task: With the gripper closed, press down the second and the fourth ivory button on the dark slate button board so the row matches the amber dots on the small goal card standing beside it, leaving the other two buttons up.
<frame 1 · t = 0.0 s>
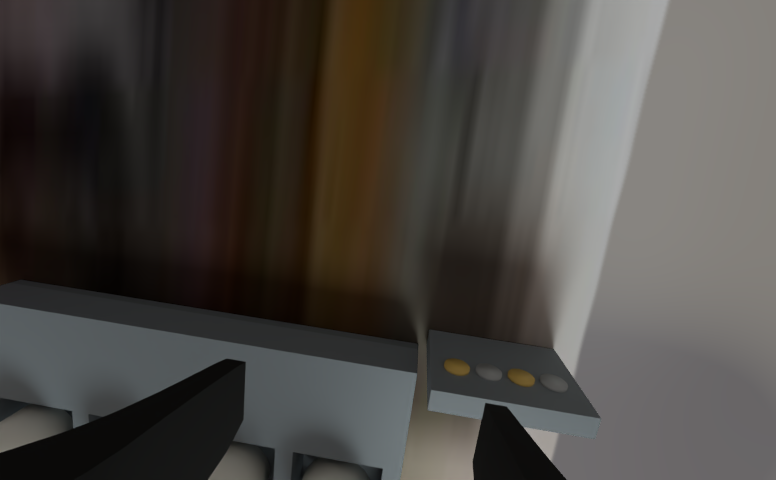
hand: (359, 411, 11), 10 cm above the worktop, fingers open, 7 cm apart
goal card: (489, 347, 21), on the worktop
board: (210, 423, 24), on the worktop
button 4: (19, 451, 21), point 4 cm above the worktop, slide at 0.0 cm
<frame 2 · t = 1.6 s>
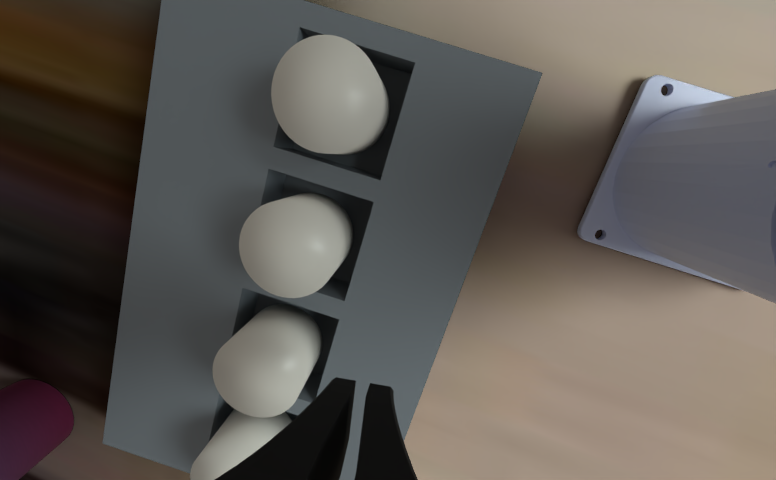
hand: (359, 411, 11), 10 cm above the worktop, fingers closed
cup: (42, 409, 25), on the worktop
button 1: (336, 103, 15), point 4 cm above the worktop, slide at 0.0 cm
board: (303, 272, 21), on the worktop
button 3: (272, 356, 17), point 4 cm above the worktop, slide at 0.0 cm
button 4: (247, 455, 19), point 4 cm above the worktop, slide at 0.0 cm
button 2: (301, 241, 16), point 4 cm above the worktop, slide at 0.0 cm
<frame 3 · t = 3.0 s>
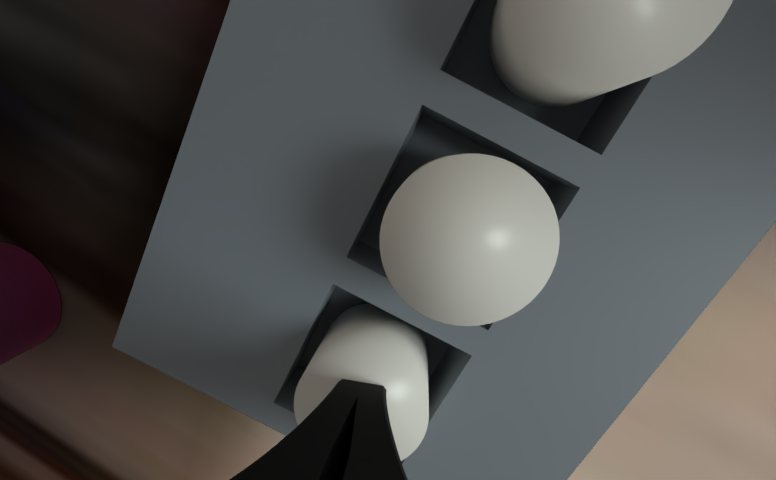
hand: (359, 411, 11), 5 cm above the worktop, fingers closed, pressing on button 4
cup: (15, 293, 17), on the worktop
board: (479, 129, 13), on the worktop
button 3: (460, 230, 10), point 4 cm above the worktop, slide at 0.0 cm
button 4: (368, 378, 12), point 3 cm above the worktop, slide at -1.0 cm, touching gripper
button 2: (588, 5, 8), point 4 cm above the worktop, slide at 0.0 cm
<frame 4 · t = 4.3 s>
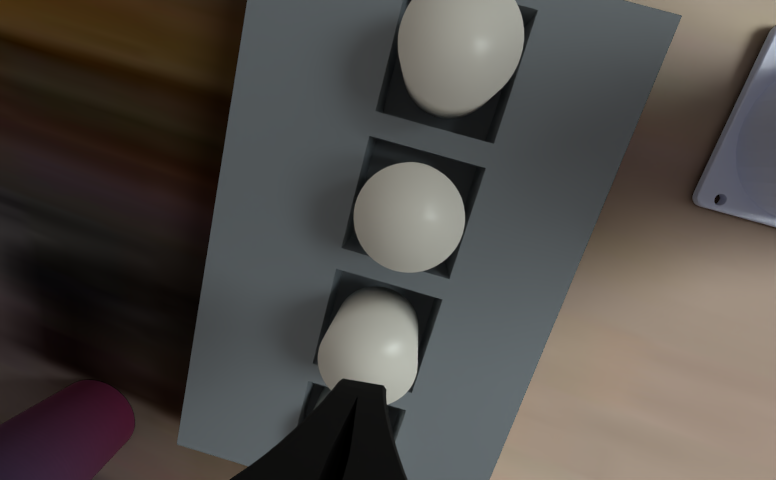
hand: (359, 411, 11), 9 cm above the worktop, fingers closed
cup: (100, 412, 23), on the worktop
button 1: (455, 56, 13), point 4 cm above the worktop, slide at 0.0 cm
board: (387, 253, 19), on the worktop
button 3: (372, 342, 16), point 4 cm above the worktop, slide at 0.0 cm
button 4: (347, 428, 19), point 2 cm above the worktop, slide at -1.5 cm
button 2: (409, 212, 15), point 4 cm above the worktop, slide at 0.0 cm
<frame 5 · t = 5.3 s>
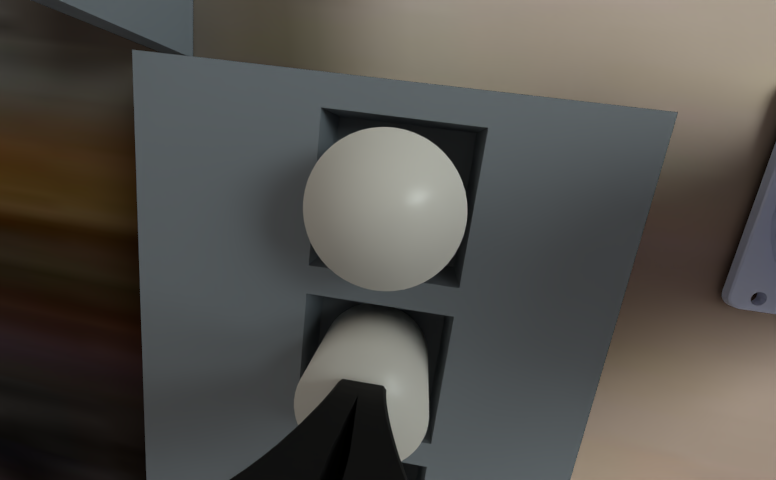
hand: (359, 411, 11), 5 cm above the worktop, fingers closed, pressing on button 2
button 1: (389, 204, 10), point 4 cm above the worktop, slide at 0.0 cm
board: (361, 390, 16), on the worktop
button 2: (368, 378, 12), point 3 cm above the worktop, slide at -0.5 cm, touching gripper
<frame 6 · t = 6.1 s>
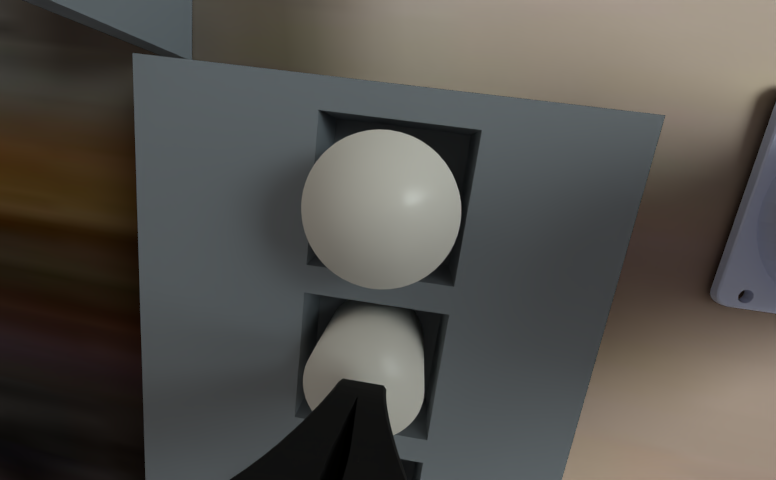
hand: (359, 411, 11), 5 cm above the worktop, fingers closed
button 1: (386, 204, 11), point 4 cm above the worktop, slide at 0.0 cm
board: (358, 388, 17), on the worktop
button 2: (369, 359, 13), point 2 cm above the worktop, slide at -1.5 cm
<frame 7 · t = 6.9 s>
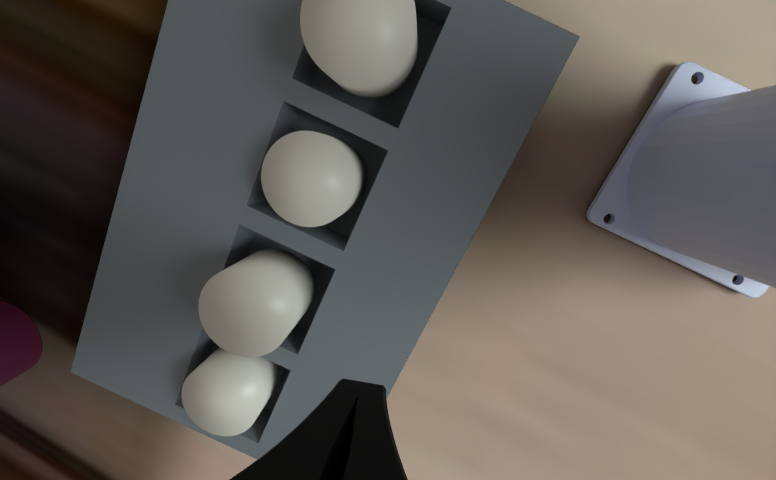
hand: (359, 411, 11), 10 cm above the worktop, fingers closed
cup: (9, 335, 24), on the worktop
button 1: (365, 37, 14), point 4 cm above the worktop, slide at 0.0 cm
board: (302, 222, 20), on the worktop
button 3: (261, 298, 17), point 4 cm above the worktop, slide at 0.0 cm
button 4: (236, 381, 20), point 2 cm above the worktop, slide at -1.5 cm
button 2: (318, 178, 17), point 2 cm above the worktop, slide at -1.5 cm
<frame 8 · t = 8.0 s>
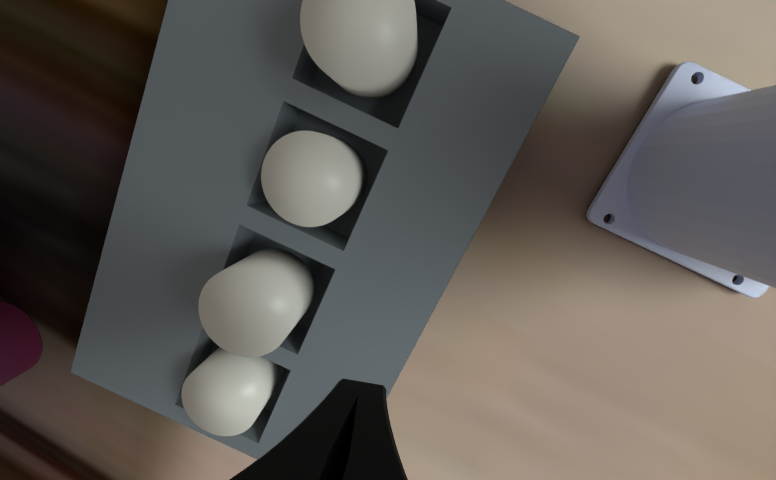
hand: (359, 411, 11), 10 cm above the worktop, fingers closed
cup: (9, 335, 24), on the worktop
button 1: (365, 37, 14), point 4 cm above the worktop, slide at 0.0 cm
board: (302, 222, 20), on the worktop
button 3: (261, 298, 17), point 4 cm above the worktop, slide at 0.0 cm
button 4: (236, 381, 20), point 2 cm above the worktop, slide at -1.5 cm
button 2: (318, 178, 17), point 2 cm above the worktop, slide at -1.5 cm
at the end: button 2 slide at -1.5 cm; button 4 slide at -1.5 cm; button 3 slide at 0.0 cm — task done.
